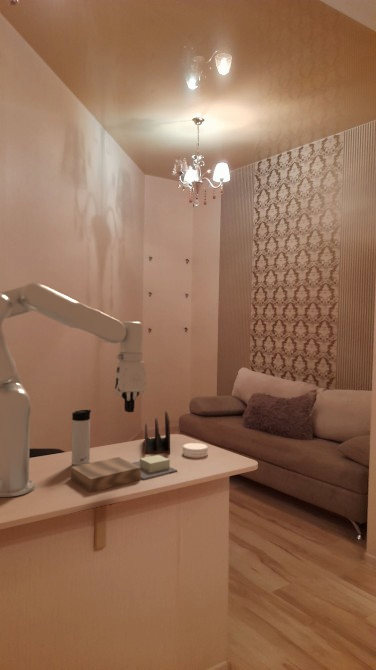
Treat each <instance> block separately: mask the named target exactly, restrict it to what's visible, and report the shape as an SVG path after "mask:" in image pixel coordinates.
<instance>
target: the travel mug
mask: <svg viewBox="0 0 376 670" xmlns="http://www.w3.org/2000/svg"><path fill="white" fill-rule="evenodd" d="M91 412H92V410H91V409H81V410H75V411H74V412H72V416H71V417H72V418H71V467H73V466H78V465H83V464H88V463H91V462H90V456H91V455H90V454H91V453H90V452H91V451H90V449H91V447H90V446H91V440H90V439H91Z"/></svg>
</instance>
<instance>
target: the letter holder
mask: <svg viewBox="0 0 376 670" xmlns="http://www.w3.org/2000/svg"><path fill="white" fill-rule="evenodd" d="M164 429H165V433H164V434H165V436H164V437H161V435H160V431H159V430H160V429H159V421H158V418H157V417H155V418H154V437H151V439H150V438H149V437H148V426H147V423H145V424H144V439H145V440H144V442H143V443H144V454H145V455H150V454H151V455H152V454H155V455H159V454H158V453H165V454H171V427H170V418H169V414H168V412H167V411H166V410H165V411H164Z"/></svg>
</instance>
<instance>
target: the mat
mask: <svg viewBox="0 0 376 670" xmlns="http://www.w3.org/2000/svg"><path fill="white" fill-rule="evenodd" d="M131 463H132V464H134V465H137V466H139V467H140V460H139V461H135V462H131ZM177 472H178V470H177V469H175V468H173V467H171V466H170V468H168V469H163V470H159V471H154V472H149V471H147V470H145V469H143V468H141V480H142V481H145V480H149V479H153V478H158V477H160V476H161V477H162V476H165V475H169V474H173V473H177Z"/></svg>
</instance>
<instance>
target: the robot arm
mask: <svg viewBox="0 0 376 670" xmlns="http://www.w3.org/2000/svg"><path fill="white" fill-rule="evenodd" d="M33 311H34V312H36V313H38V314H40V315H42V316H45V317H46V318H49V319H51V320H53V321H54V322H55V321H56V322H57V323H60V325H64V326H66V327H70V328H73V329H77V330H81V331H83V332H86V333H89V334H92V335H94V336H95V337H97V339H99V340H100V341H101V342H103V343H108V344H114V345H115V344H119V354H116V359H117V360H119V361H118V362H117V363H116V364H117V365H116V369H115V374H114V375H115V377H114V390H115V392H114V393H115V395H116V396H120V397H121V398H122V399H123V400H124V405H123V407H124V411H125V412H127V413H134V412H135V400H137V398H138V396H139V395H141V394H144V393H145V390H146V387H147V376H146V375H147V373H146V366H145V362H144V361H143V333H144V332H143V331H144V327H143V326H144V325H143V324H142V322H140V321H122V322H121V320H119V319H116V318H114V317H112V316H111V315H108V314H106V313H104V312H102V311H100V310H99V309H95V308H92V307H90V306H88V305H87V304H84V303H82V302H79V301H77V300H75V299H73V298H70V296H67V295H65V294H63V293H61V292H59V291H56V290H55V289H52V288H51V287H48V286H47V285H44V284H42V283H39V282H30V283H28V284H25V285H24V286H20V287H16V288H13V289H10V290H5V291H2V292H0V498H10V497H11V498H12V497H17V496H22V495H25V494H27V493H30V492H32V491H33V490H34V488H35V482H34V481H33V480H31V479H30V424H31V423H30V422H31V421H30V420H31V410H32V409H31V408H32V402H31V397H30V395H29V393H28V391H27V390H26V389H25V387H24V385H23V382H22V380H21V377H20V374H19V372H18V369H17V363H16V361H15V359H14V358H13V356H12V353H11V350H10V349H9V346H8V344H7V340H6V337H5V335H4V334H5V333H4V331H3V323H4V321H5V320H6V319H10V318H13V317H17V316H20V315H24V314H27V313H31V312H33Z"/></svg>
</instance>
